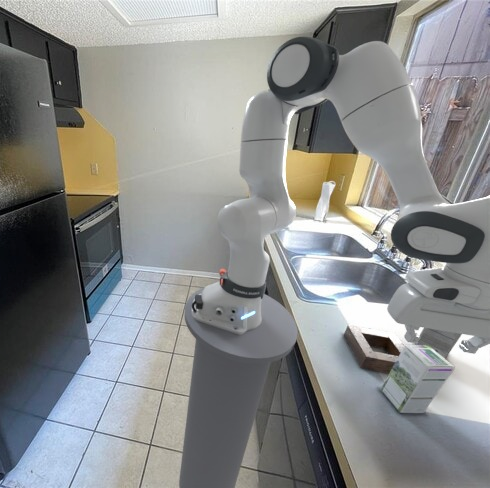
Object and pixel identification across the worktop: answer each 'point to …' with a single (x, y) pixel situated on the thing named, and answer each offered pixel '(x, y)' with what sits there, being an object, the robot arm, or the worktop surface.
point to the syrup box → (416, 378)
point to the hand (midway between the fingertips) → (437, 345)
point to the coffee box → (438, 340)
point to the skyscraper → (324, 202)
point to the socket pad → (365, 338)
